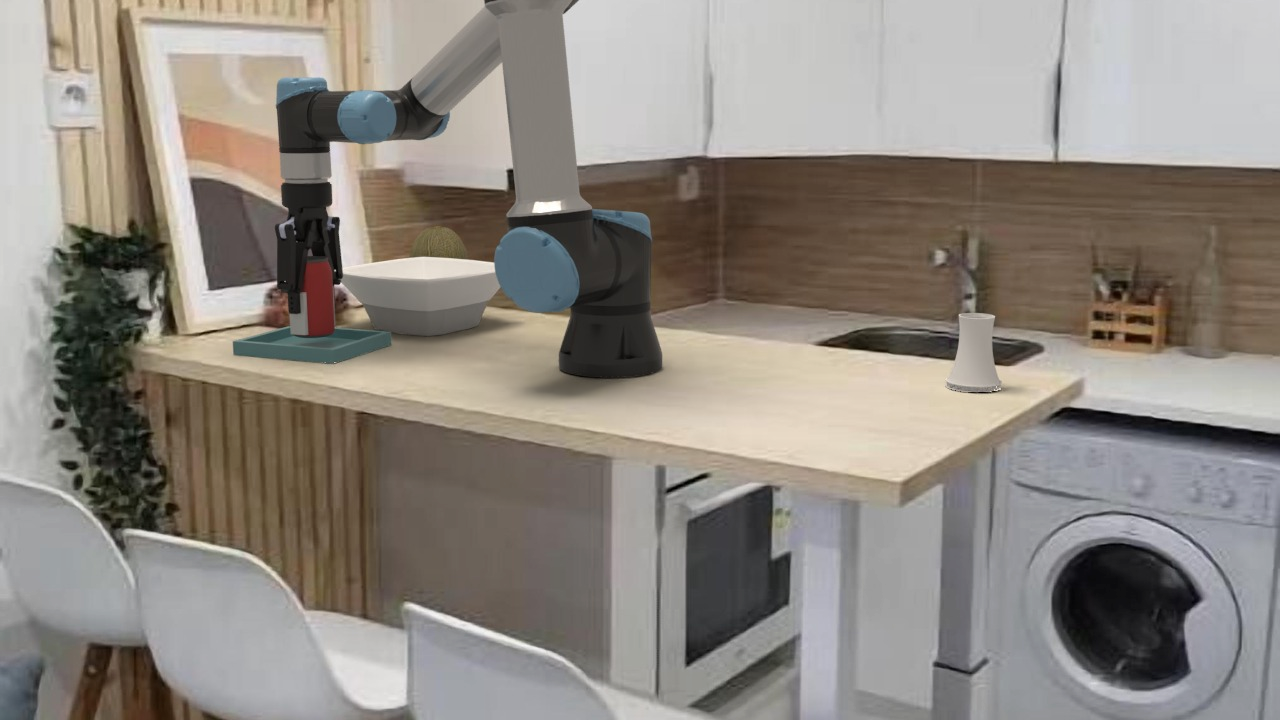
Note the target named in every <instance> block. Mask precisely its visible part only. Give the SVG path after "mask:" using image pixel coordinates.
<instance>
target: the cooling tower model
mask: <svg viewBox="0 0 1280 720" xmlns="http://www.w3.org/2000/svg"><path fill="white" fill-rule="evenodd" d="M995 318H996V315H993V314H990V313H983V312H981V313H980V312H967V313H966V312H964V313H959V314H958V323H959V326H958V327H959V333H958V334H959V336H958V344H957V345H958V346H957V351H956V356H955V359H954V361H953V366H952V368H951V371H950V373H949V375H948V376H947V377H946V378H945V379H944V380H945V382H946V383H945V384H944V387H945V386H946V388H947V389H948V388H949V390H951V389H952V390H951V391H955V390H956V391H955V392H960V391H961V392H962V393H968V392H990V391H994V389H995V390H997V389H999V388H1001V387H1002V383H1003V382H1002V380H1001V379H1000V378H999V375H998V372H997V369H996V365H995V359H994V353H993V351H994V350H993V332H994V324H995ZM996 386H997V388H996ZM961 392H960V393H961Z"/></svg>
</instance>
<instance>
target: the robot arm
mask: <svg viewBox="0 0 1280 720" xmlns="http://www.w3.org/2000/svg"><path fill="white" fill-rule="evenodd" d="M483 1H484V6H483V7H482V8H481V9H480V10H479V11H478V12H477V13H476V14H475V15H474V16H473V17H472V18H471V19H470V20H469V21H468V22H467V23H466V24H465V25H464V26H463V27H462V28H461V29H460V30H459V31H458V32H457V33H456V34H455V35H454V36H453V37H452V38H451V39H450V40H449V41H447V43H446V44H445V45H444V46H443V47H442V48H441V49H440V50H439V51H438V52H437V53H436V54H435V55H434V56H433V57H432V58H431V59H430V60H429V61H427V63H426V64H425V65H424V66H423V67H422V68H421V69H420V70H419V71H418V72H417V73H416V74H414V75H413V77H412V78H410V80H409V81H407V83H405V84H404V85H403V86H402V87H401V88H399V89H395V90H394V89H393V90H389V89H387V90H370V89H368V90H367V89H365V90H363V89H359V90H333V91H332V90H330V89H328V81H327V79H326V78H324V77H312V76H311V77H306V76H305V77H282V78H279V79H278V81H277V83H276V97H275V98H276V100H275V101H276V102H275V103H276V104H275V108H276V116H277V117H276V118H277V131H278V132H277V134H278V147H279V148H278V150H279V162H280V163H279V164H280V165H279V167H280V168H279V169H280V171H279V172H280V178H281V179H282V180H284V182H281V185H280V193H281V205H282V207H284V208H286V209H287V211H288V214H287V218H286V221H285V222H284V223H276V224H275V225H274V232H275V235H276V241H277V242H276V245H277V246H276V250H277V251H276V252H277V253H276V257H277V258H276V260H277V261H276V288H277V289H278V290H280V291H281V292H282V293H287V294H286V295H287V304H288V305H287V306H288V307H287V310H288V313H289V326H290V332H291V334H295V335H308V317H307V296H306V292H302V290H303V283H304V276H305V270H306V263H307V256H309V255H308V254H309V251H310V250H311V254H312V255H311V256H324V257H327V258H328V262H329V265H330V267H331V270H332V280H333V302H334V325H335V326H336V311H335V310H336V309H335V303H336V298H335V286H340V285H341V284H342V283H341V280H340V279H342V278H343V269H342V268H343V261H342V252H341V251H342V250H341V243H340V242H341V241H340V224H341V219H340V217H339V216H329V213H328V211H327V210H328V209H327V208H330V207H331V206H332V204H333V188H332V187H333V185H332V183H331V182H330V181H328V180H329V179H331V177H332V176H333V175H332V161H331V160H332V158H331V143H332V142H333V143H334V142H335V143H347V144H348V143H350V144H358V145H367V144H368V145H371V144H379V143H383V142H390V141H391V142H392V141H425V140H428V139H432V138H436V137H438V136H440V135H441V134H443V133H444V132H445V130H446V129H447V126H448V124H449V121H450V117H451V116H450V115H451V114H450V113H451V111H453V109H454V108H455V107H456V106H457V105H458V104H460V102H461V101H463V99H464V98H466V97H467V96H468V95H469V94H470V93H471V92H472V91H473V90H474V89H475V88H476V87H478V86H479V85H480V83H482V82H483V81H484V80H485V79H486V78H487V77H488V76H489V75H491V73H492V72H494V70H496V69H497V67H499V65H501V66H502V74H503V84H504V93H505V95H504V96H505V101H506V102H505V104H506V113H507V121H508V132H509V140H510V141H509V142H510V150H511V161H512V169H513V170H512V171H513V180H514V190H515V201H514V204H513V205H512V206H511V208H510V209H509V210H508V211H507V213H506V223H507V233H506V234H504V235H503V236H502V238H501V239H500V241H499V244H498V245H497V246H496V248H495V253H494V258H493V260H494V261H493V263H494V266H495V273H496V277H497V280H498V282H499V284H500V286H501V287H500V288H501V290H502V291H503V293H504V294H505V296H506V297H507V298H509V299H510V300H511V301H512V302H513V303H514V304H515V305H516V306H517V307H519V308H521V309H523V310H525V311H528V312H531V313H539V314H540V313H541V314H543V313H560V312H563V311H565V310H566V309H570V314H569V319H568V323H567V325H566V329H565V332H564V336H563V339H562V342H561V345H560V348H559V351H558V368H559V370H560V371H562V372H564V373H567V374H570V375H575V376H579V377H580V376H581V377H588V378H589V377H590V378H608V379H609V378H631V377H639V376H646V375H650V374H653V373H657V372H659V371H660V370H662V369H663V350H662V348H661V344H660V341H659V338H658V335H657V332H656V329H655V326H654V322H653V320H652V314H651V313H652V311H651V293H652V292H651V289H652V288H651V286H652V283H651V282H652V276H651V275H652V243H653V238H652V237H653V236H652V233H651V222H650V221H651V220H650V218H649V217H648V215H646V214H645V213H642V212H636V211H626V210H624V211H622V210H611V209H601V208H600V209H596V208H593V207H592V205H591V204H590V203H589V202H587V201H586V200H585V199H584V198H583V197H582V196H581V194H580V182H579V176H578V175H579V173H578V163H577V161H578V160H577V153H576V152H577V151H576V142H575V132H574V121H573V109H572V101H571V99H572V98H571V91H570V81H569V79H570V77H569V69H568V57H567V49H566V48H567V47H566V37H565V27H564V16H563V15H565V14H566V13H567V12H568V11H569V10H570V9H572V8H573V7H574V5H576V4H577V3H578V2H579V1H580V0H483ZM334 270H336V271H334ZM295 282H296V284H295Z"/></svg>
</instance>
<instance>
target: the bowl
mask: <svg viewBox="0 0 1280 720" xmlns="http://www.w3.org/2000/svg"><path fill="white" fill-rule="evenodd" d="M342 269H343V278H342V279H340V280H341V283H340V284H342V285H343V286H344V287H345V288H346V289H347V291H349V292H350V293H351V294H352V296H353V297H354V298H355V299H356V300H357V301H358V302H360V303H361V305H362V306H363V308H364V310H365V312H366V314H367V317H368V318H369V320H370V322H371V324H372V327H373V328H374V329H375V330H377V331H386V332H391V334H392V333H393V334H399V335H400V334H401V335H407V336H416V337H417V336H419V337H433V336H441V335H445V334H447V335H448V334H451V333H456V332H461V331H464V330H469V329H473V328H475V327H477V326H479V324H480V322H481V319H482V317H483V315H484V312H485V310H486V307H487V305H488V303H489V301H490V300H491V299H492V298H493V297H494V296H495V294H496V293H497V292H498V291H499V290H500V288H501V286H500V284H499V282H498V280H497V277H496V273H495V266H494V261H493V262H492V261H484V260H475V259H469V260H465V259H453V258H438V257H414V258H409V257H407V258H397V259H388V260H384V261H376V262H369V263H368V262H367V263H362V264H356V265H350V266H344V267H342ZM334 271H336V270H334Z"/></svg>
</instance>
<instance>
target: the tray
mask: <svg viewBox="0 0 1280 720" xmlns="http://www.w3.org/2000/svg"><path fill="white" fill-rule="evenodd" d="M388 346H392V332H386V331H382V330H373V329H362V328H361V329H358V328H346V327H336V326H335V331H334V333H333V334H331V335H330V336H327V337H321V338H300V337H296V336H294V335H293V334H291V332H290V325H288V326H284V327H280V328H276V329H274V330H269V331H265V332H262V333H258V334H254V335H251V336H247V337H244V338H243V337H242V338H241V339H235V340H232V351H233V356H243V357H255V358H265V359H274V358H276V360H277V359H278V360H287V361H297V362H307V361H311V362H310V363H318V362H323V363H322V364H329V363H334V362H338V361H341V362H343V361H342V360H344V361H347V360H350V359H353V358H356V357H359V356H362V355H365V354H368V353H371V352H374V351H378V350H381V349H382V348H383V349H384V348H386V347H388ZM346 359H347V360H346ZM324 362H326V363H324ZM338 363H339V362H338Z"/></svg>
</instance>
